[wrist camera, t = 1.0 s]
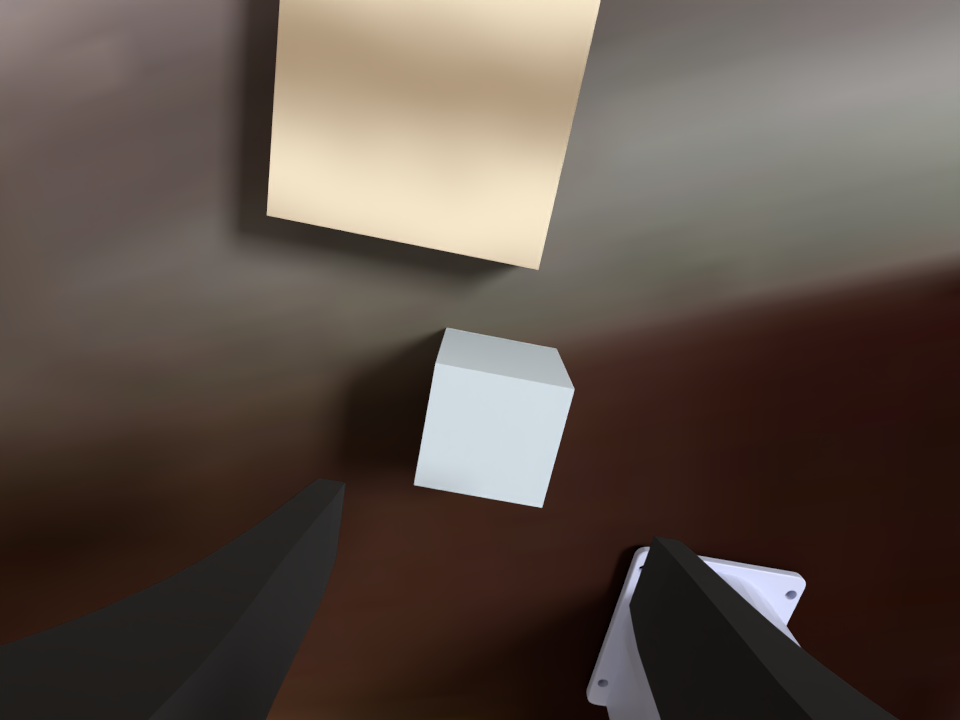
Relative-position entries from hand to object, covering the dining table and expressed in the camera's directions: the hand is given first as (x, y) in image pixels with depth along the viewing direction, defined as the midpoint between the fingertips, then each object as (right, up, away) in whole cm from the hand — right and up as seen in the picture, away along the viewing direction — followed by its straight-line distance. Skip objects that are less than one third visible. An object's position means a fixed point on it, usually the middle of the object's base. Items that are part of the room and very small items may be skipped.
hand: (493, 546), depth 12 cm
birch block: (-2, +13, +6) cm, 15 cm away
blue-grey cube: (0, +3, +9) cm, 10 cm away
